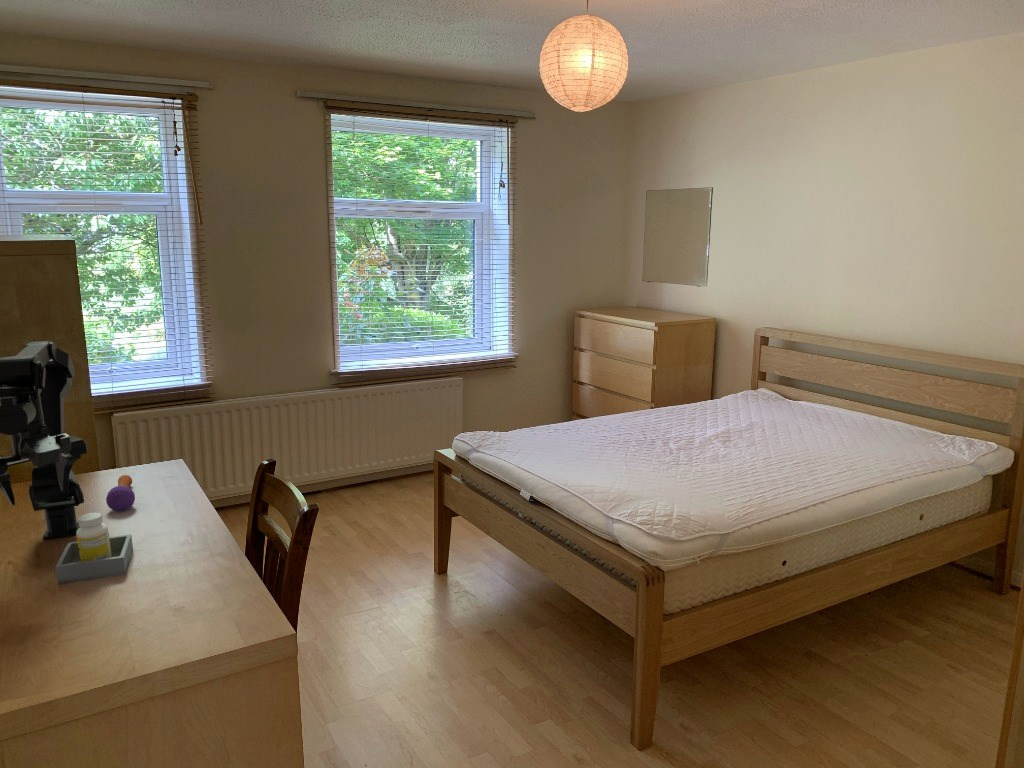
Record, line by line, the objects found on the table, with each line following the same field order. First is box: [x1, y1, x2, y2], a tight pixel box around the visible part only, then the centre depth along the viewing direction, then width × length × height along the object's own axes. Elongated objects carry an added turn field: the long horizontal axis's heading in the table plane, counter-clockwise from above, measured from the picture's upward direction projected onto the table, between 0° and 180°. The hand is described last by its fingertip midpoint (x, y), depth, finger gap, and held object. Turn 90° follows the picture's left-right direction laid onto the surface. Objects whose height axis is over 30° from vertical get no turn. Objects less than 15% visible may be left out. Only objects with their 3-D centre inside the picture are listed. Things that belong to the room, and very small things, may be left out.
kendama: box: [105, 474, 136, 512], centre depth 183 cm, size 6×6×20 cm
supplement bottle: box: [76, 512, 112, 562], centre depth 147 cm, size 5×5×10 cm
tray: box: [55, 533, 134, 585], centre depth 148 cm, size 11×11×4 cm
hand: (38, 497), depth 149 cm, fingers open, 9 cm apart
